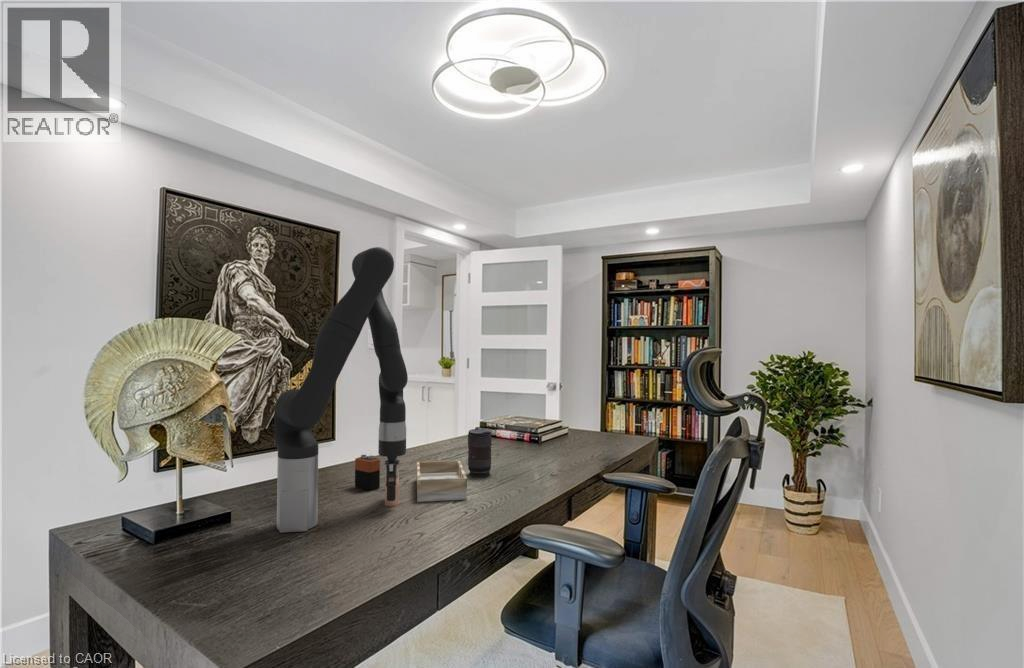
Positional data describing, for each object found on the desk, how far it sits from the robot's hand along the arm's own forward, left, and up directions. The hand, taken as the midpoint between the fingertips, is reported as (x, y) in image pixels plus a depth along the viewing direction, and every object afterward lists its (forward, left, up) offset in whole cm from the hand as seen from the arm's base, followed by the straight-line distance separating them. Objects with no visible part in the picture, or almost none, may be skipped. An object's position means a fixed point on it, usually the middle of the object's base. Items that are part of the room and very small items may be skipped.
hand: (391, 495), depth 142 cm
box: (+12, -14, -2) cm, 19 cm away
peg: (0, 0, -2) cm, 2 cm away
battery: (+17, +8, -3) cm, 19 cm away
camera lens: (+27, -28, -3) cm, 39 cm away
